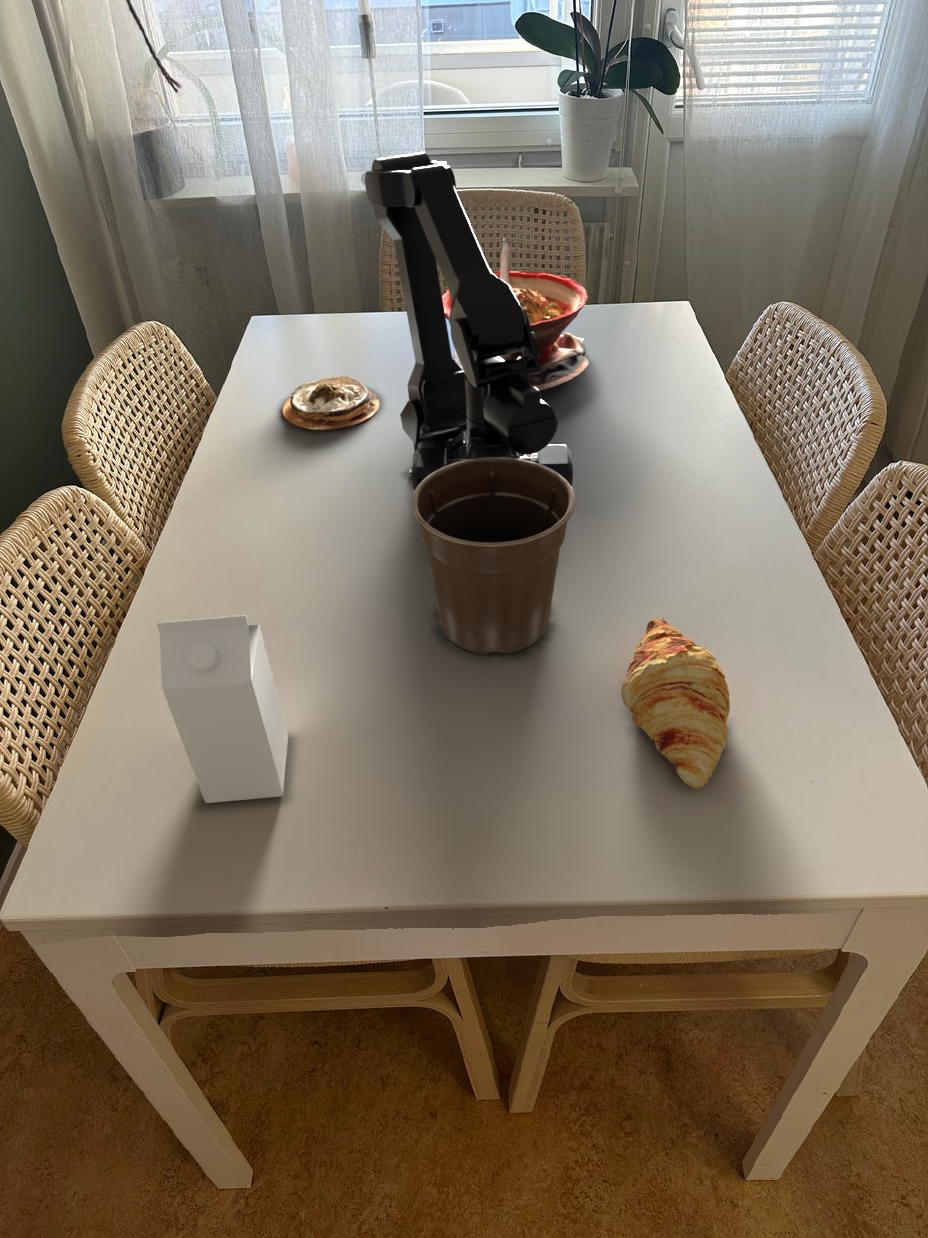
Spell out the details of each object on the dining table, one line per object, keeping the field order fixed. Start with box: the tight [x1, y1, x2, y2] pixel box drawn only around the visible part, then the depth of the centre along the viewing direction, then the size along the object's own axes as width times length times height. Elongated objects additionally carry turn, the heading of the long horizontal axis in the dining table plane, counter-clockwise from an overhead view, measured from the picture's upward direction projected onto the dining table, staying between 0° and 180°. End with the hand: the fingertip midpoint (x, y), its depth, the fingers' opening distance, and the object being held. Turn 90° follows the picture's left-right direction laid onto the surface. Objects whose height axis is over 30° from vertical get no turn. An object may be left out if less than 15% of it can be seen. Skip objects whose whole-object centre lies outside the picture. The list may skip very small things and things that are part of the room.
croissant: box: [620, 617, 731, 790], centre depth 84 cm, size 21×10×8 cm, turn 2°
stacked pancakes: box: [282, 375, 380, 431], centre depth 135 cm, size 15×15×4 cm
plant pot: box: [411, 457, 576, 656], centre depth 92 cm, size 16×16×16 cm
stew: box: [442, 238, 590, 391], centre depth 140 cm, size 28×24×16 cm
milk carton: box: [156, 614, 289, 804], centre depth 76 cm, size 7×7×19 cm
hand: (492, 526), depth 109 cm, fingers closed on jar, 5 cm apart
